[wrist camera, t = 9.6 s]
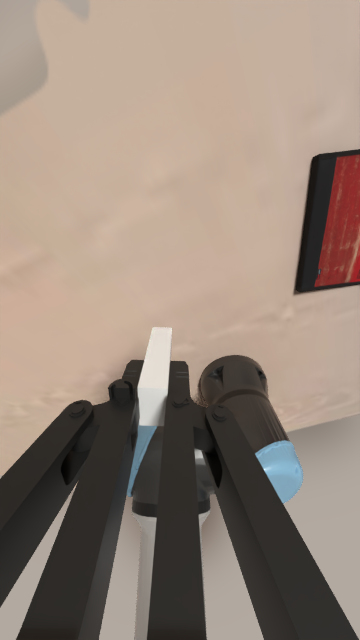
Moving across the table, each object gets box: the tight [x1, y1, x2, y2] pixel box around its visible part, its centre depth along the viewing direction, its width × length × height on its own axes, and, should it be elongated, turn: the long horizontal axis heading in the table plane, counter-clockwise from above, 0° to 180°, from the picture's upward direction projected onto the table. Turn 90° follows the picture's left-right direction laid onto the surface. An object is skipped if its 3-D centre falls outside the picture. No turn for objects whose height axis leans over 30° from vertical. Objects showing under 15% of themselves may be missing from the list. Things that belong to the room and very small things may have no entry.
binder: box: [296, 149, 360, 292], centre depth 35 cm, size 16×2×21 cm
